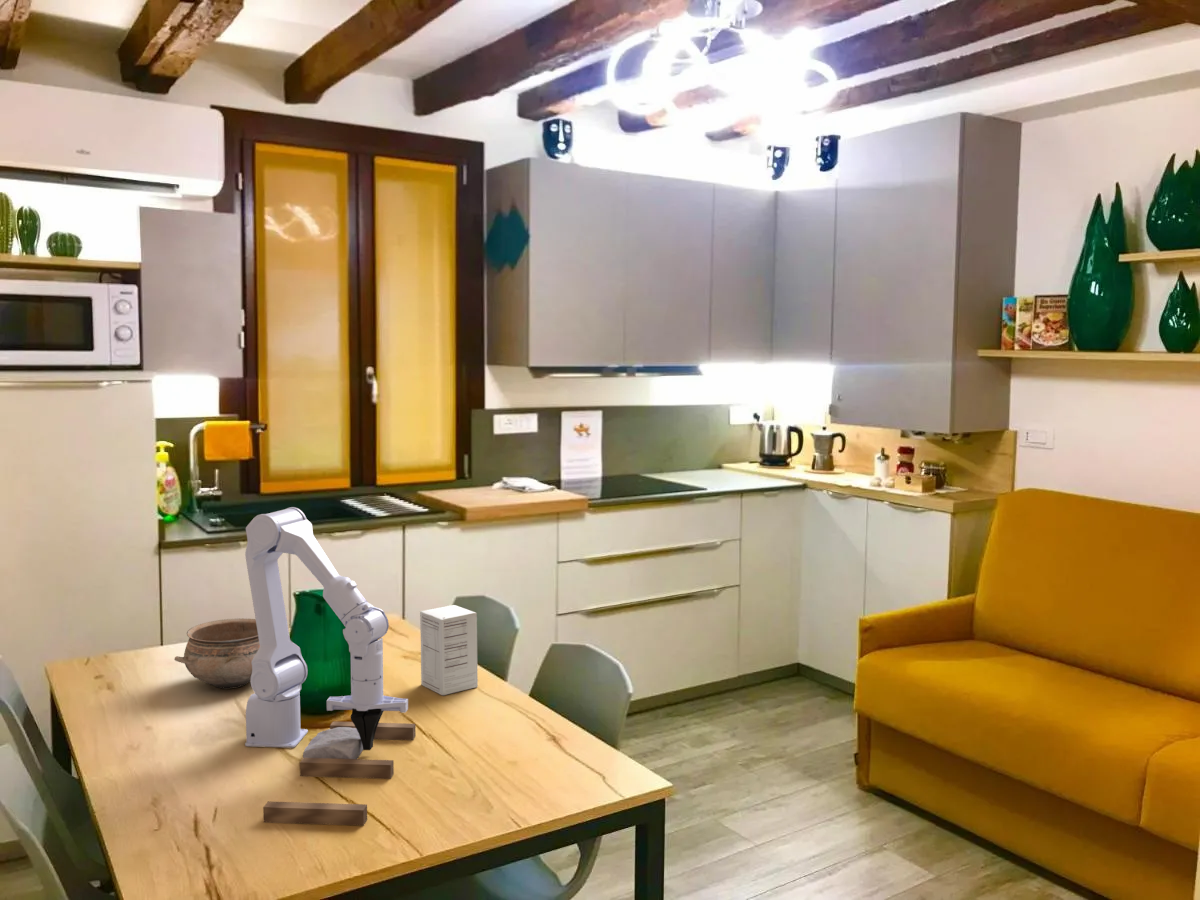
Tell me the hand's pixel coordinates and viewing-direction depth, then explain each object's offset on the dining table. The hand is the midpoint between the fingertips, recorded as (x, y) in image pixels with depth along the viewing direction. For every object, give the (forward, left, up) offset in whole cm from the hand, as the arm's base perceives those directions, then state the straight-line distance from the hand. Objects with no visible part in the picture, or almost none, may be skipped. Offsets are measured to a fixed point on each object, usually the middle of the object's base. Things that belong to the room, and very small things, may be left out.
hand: (368, 748), depth 186 cm
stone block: (-6, -1, -2) cm, 6 cm away
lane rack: (-1, -9, -1) cm, 9 cm away
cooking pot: (-40, +36, -2) cm, 54 cm away
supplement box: (+8, +38, -2) cm, 39 cm away
